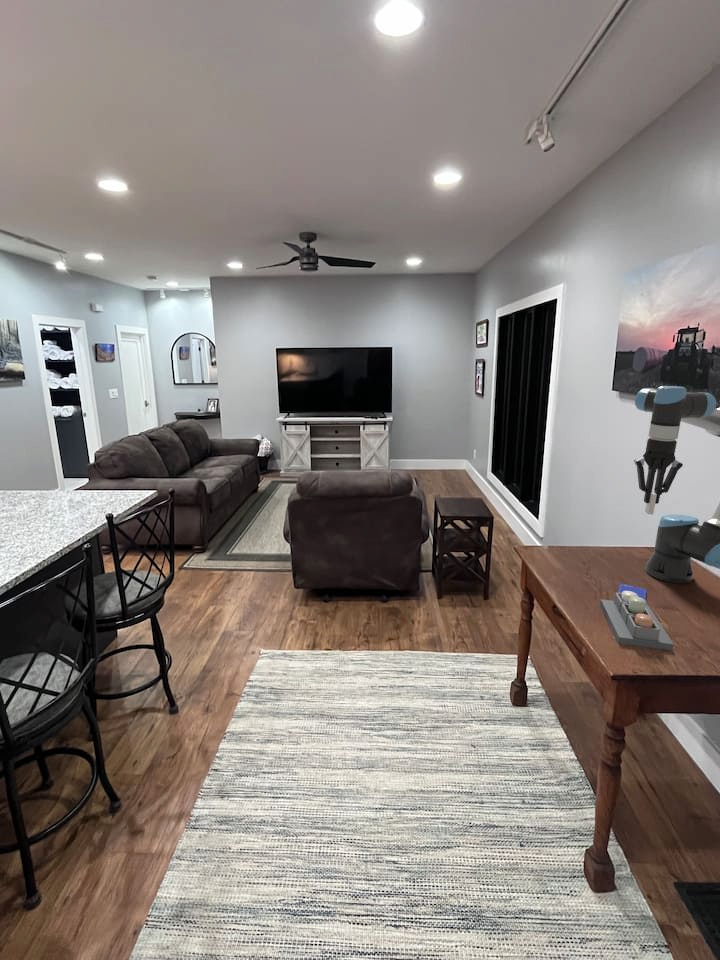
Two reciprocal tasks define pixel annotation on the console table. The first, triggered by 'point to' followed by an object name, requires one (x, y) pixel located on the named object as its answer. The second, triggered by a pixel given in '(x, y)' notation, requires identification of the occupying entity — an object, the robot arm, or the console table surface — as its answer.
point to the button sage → (636, 605)
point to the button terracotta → (643, 620)
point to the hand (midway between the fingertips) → (649, 512)
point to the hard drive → (633, 590)
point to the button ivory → (627, 595)
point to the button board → (634, 626)
